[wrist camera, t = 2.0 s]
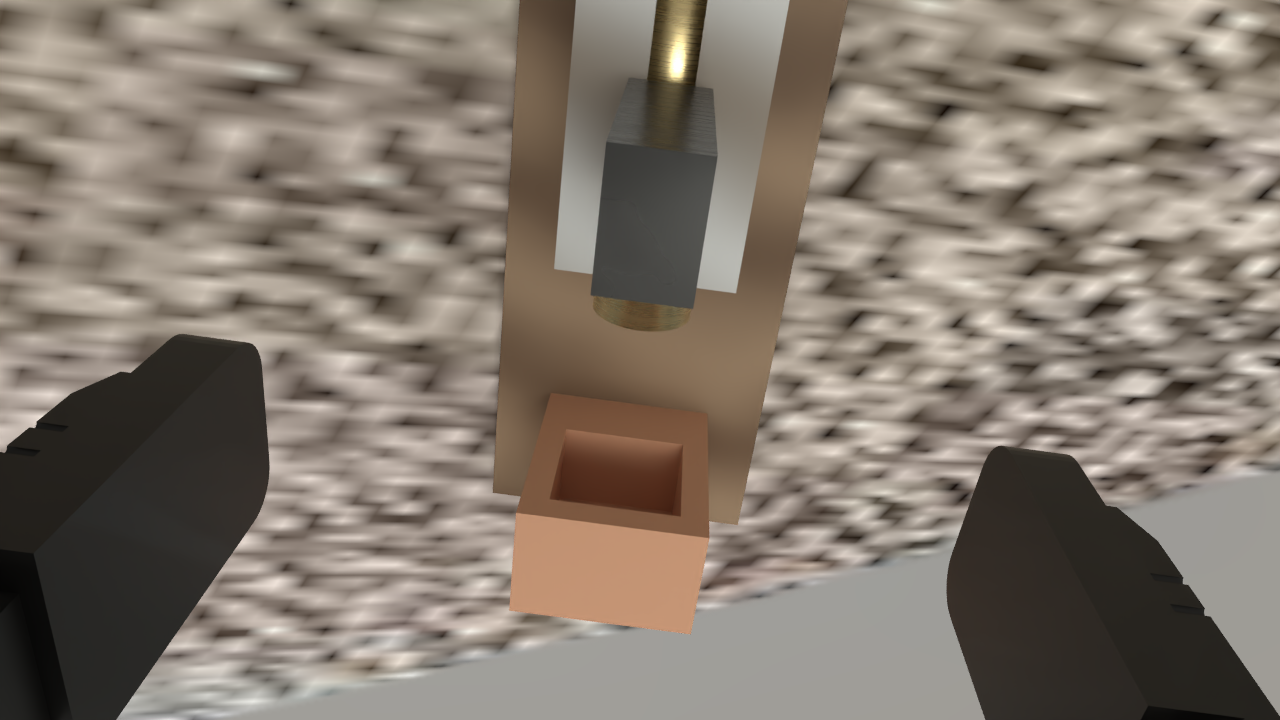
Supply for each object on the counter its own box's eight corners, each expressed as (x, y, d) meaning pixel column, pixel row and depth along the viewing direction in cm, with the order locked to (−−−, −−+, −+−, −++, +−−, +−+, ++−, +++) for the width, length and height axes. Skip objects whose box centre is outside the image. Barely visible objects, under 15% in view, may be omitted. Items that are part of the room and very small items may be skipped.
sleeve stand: (540, -229, 27) (479, -270, 20) (878, -183, 27) (947, -207, 20) (500, 471, 39) (451, 614, 31) (736, 502, 39) (745, 652, 31)
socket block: (551, 392, 35) (516, 512, 28) (707, 413, 35) (709, 538, 28) (543, 478, 37) (509, 610, 30) (691, 498, 37) (690, 634, 30)
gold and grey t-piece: (647, -182, 24) (609, -225, 14) (763, -167, 24) (808, -199, 14) (597, 284, 30) (547, 482, 20) (690, 296, 30) (685, 500, 20)
